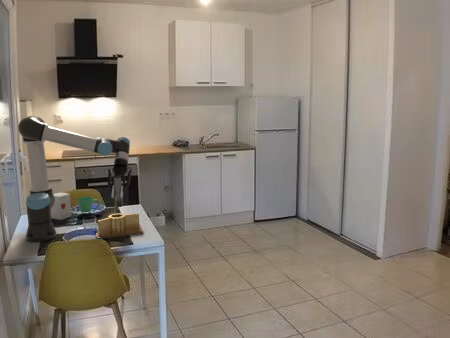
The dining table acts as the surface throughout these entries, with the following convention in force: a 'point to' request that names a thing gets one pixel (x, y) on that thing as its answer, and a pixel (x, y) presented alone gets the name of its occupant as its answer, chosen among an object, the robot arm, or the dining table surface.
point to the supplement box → (61, 206)
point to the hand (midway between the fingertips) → (117, 196)
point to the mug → (86, 203)
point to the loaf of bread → (119, 225)
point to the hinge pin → (118, 191)
